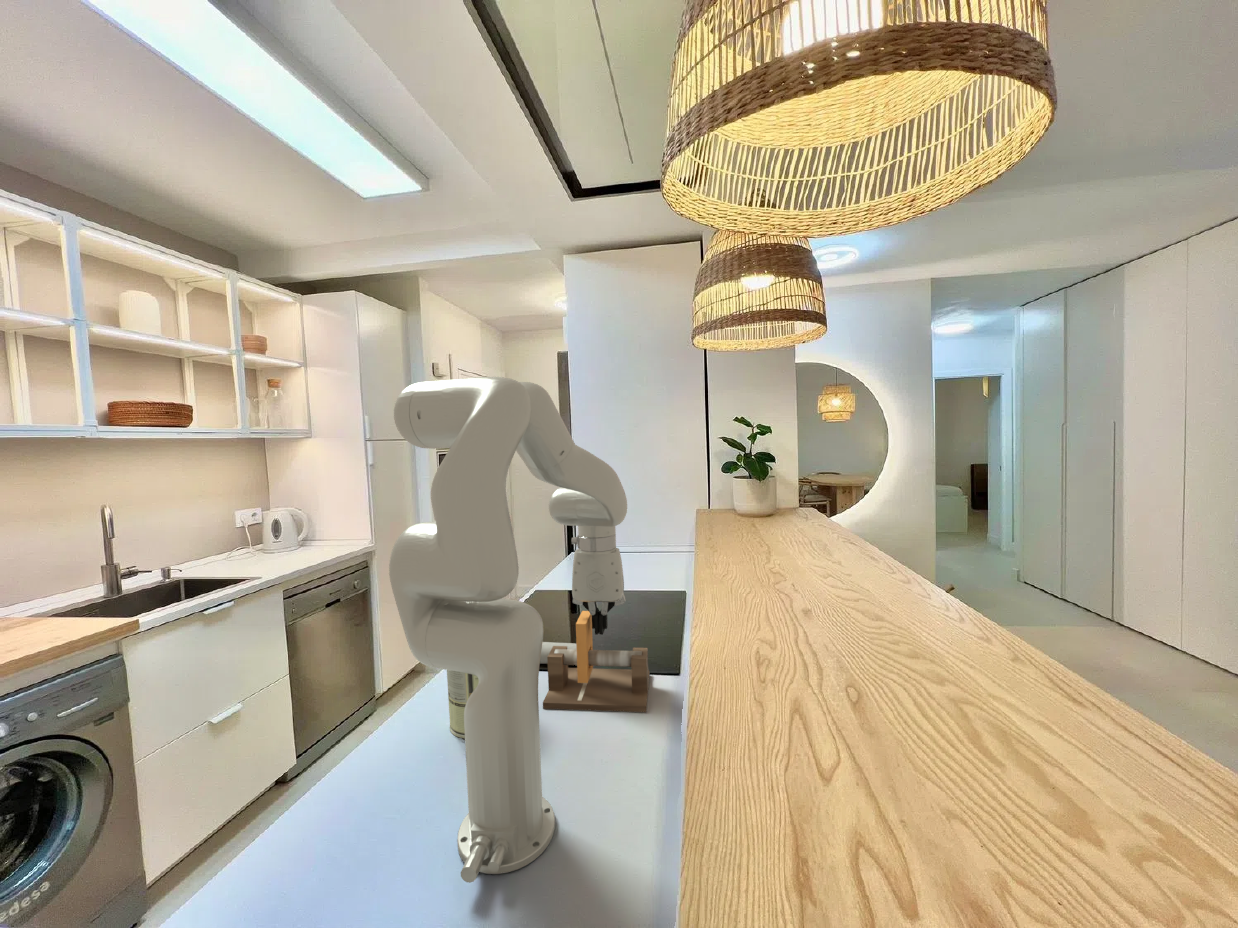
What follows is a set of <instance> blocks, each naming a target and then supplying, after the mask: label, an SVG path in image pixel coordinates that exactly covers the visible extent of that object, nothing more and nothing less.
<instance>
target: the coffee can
mask: <svg viewBox="0 0 1238 928" xmlns="http://www.w3.org/2000/svg"><path fill="white" fill-rule="evenodd" d="M446 681H447V696H448V699H447V700H448V712H449V730H450V733H451V734H452V735H454V736H455V737H457V738H460V739H465V729H464V710H465V706H466V703H467V700H468V698H469V697H470V695H471V694H472V692H473V691H474V690H475V688H476V687H477V686H478V683H479V679H478V677H477V676H476V675H473V674H468V673H464V672H458V671H452V670H446Z"/></svg>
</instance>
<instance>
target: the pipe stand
mask: <svg viewBox="0 0 1238 928" xmlns="http://www.w3.org/2000/svg"><path fill="white" fill-rule="evenodd" d="M648 653H649V651H648V647H632V650H610V649H609V650H606V649H605V650H604V649H602V650H601V649H593V650H589V652H588V665H589V666H593V667H594V666H595V667H596V666H597V667H622V668H621V669H620V668H593V669H592V672H591V675H590V678H589V681H588V683H578V675H577V667H569V666H574V665H577V650H570V649H567V646H553V647H552V649H551V651H550V653H549V655H548V656H547V661H548V664H547V679H548V680H547V682H548V687H547V688H548V691H547V693H546V695H545V696H544V699H543V701H542V709H546V710H570V711H571V710H573V711H574V710H575V711H596V712H598V711H599V712H625V713H626V712H627V713H628V712H629V713H630V712H631V713H647V708H648V707H647V706H648V695H649V686H650V685H649V683H650V669H649V654H648ZM623 667H625V668H626V667H627V669H625V668H624V669H623ZM629 667H630V668H631V669H629Z"/></svg>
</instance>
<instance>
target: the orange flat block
mask: <svg viewBox="0 0 1238 928" xmlns="http://www.w3.org/2000/svg"><path fill="white" fill-rule="evenodd" d="M575 637H576V638H575V644H576V646H577V666H576V668H577V675H578V683H588V681H589V678H590V675H591V672H592V669H594V666H589V665H588V652H589V650H594V649H593V647H594V646H593V629H592V615H591V614H590V612H589V611H588V610H582V611H581V613H580V614H579V616H578V618H577V621H576V622H575Z"/></svg>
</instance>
